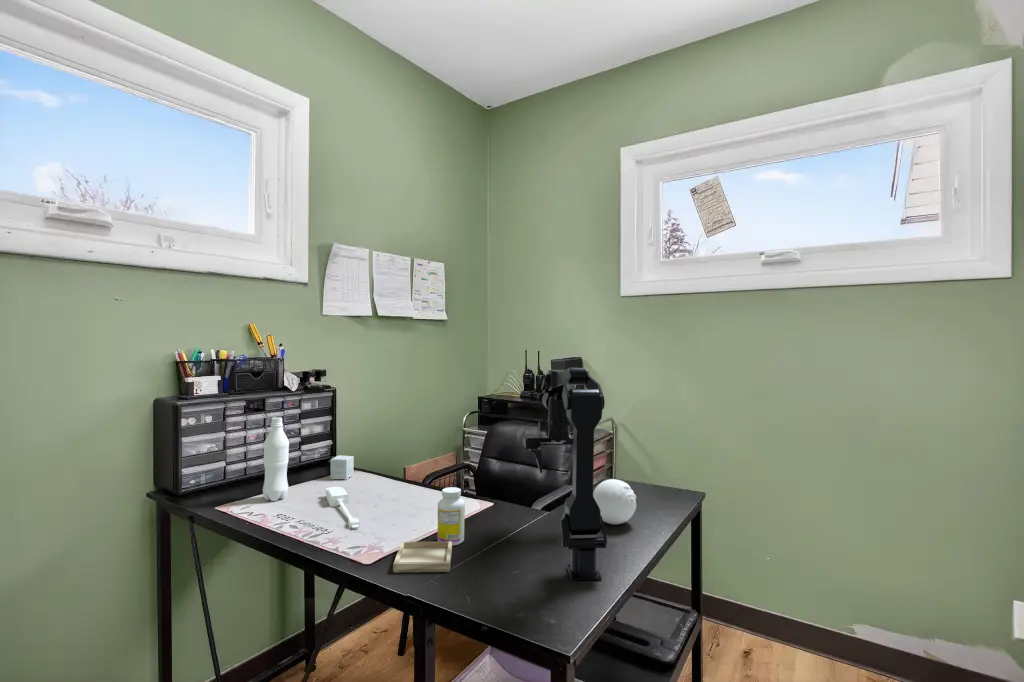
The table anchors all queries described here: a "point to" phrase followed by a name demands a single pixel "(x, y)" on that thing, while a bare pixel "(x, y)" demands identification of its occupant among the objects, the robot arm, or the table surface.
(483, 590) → the table surface
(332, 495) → the white toy mallet
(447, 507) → the supplement bottle
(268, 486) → the water bottle
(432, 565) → the tray
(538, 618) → the table surface
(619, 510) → the decorative ball
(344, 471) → the product box
